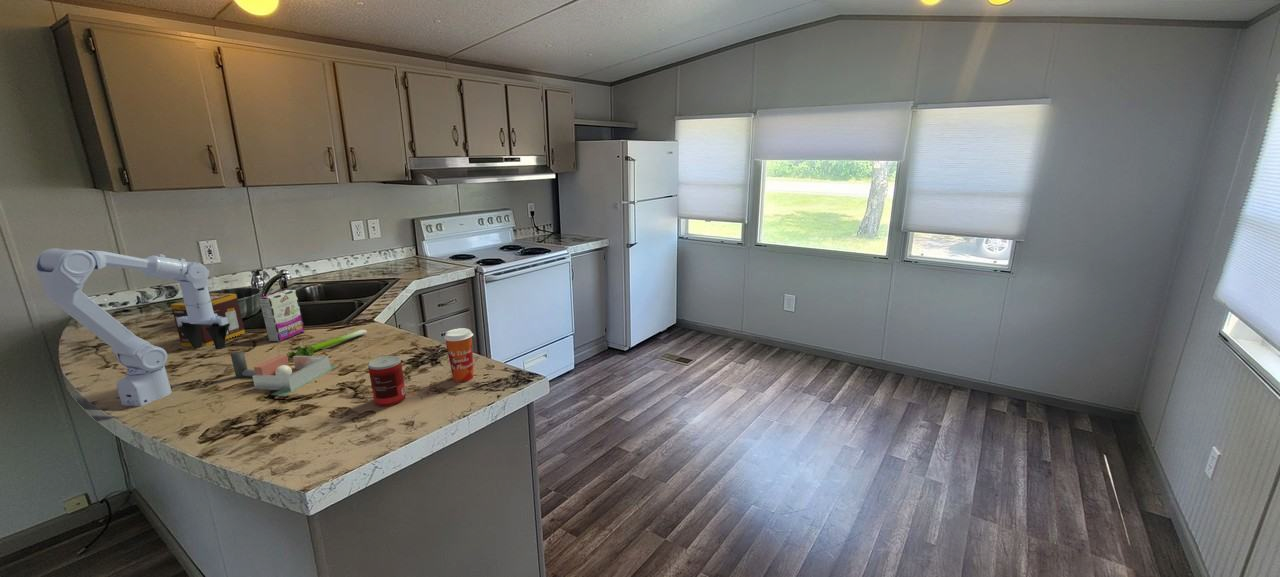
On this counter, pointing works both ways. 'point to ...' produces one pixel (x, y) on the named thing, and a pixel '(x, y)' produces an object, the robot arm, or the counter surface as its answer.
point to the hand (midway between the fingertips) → (209, 347)
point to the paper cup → (460, 353)
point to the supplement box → (222, 307)
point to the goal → (294, 374)
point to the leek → (322, 345)
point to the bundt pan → (245, 299)
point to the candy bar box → (282, 315)
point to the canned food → (387, 380)
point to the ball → (283, 371)
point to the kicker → (260, 369)
